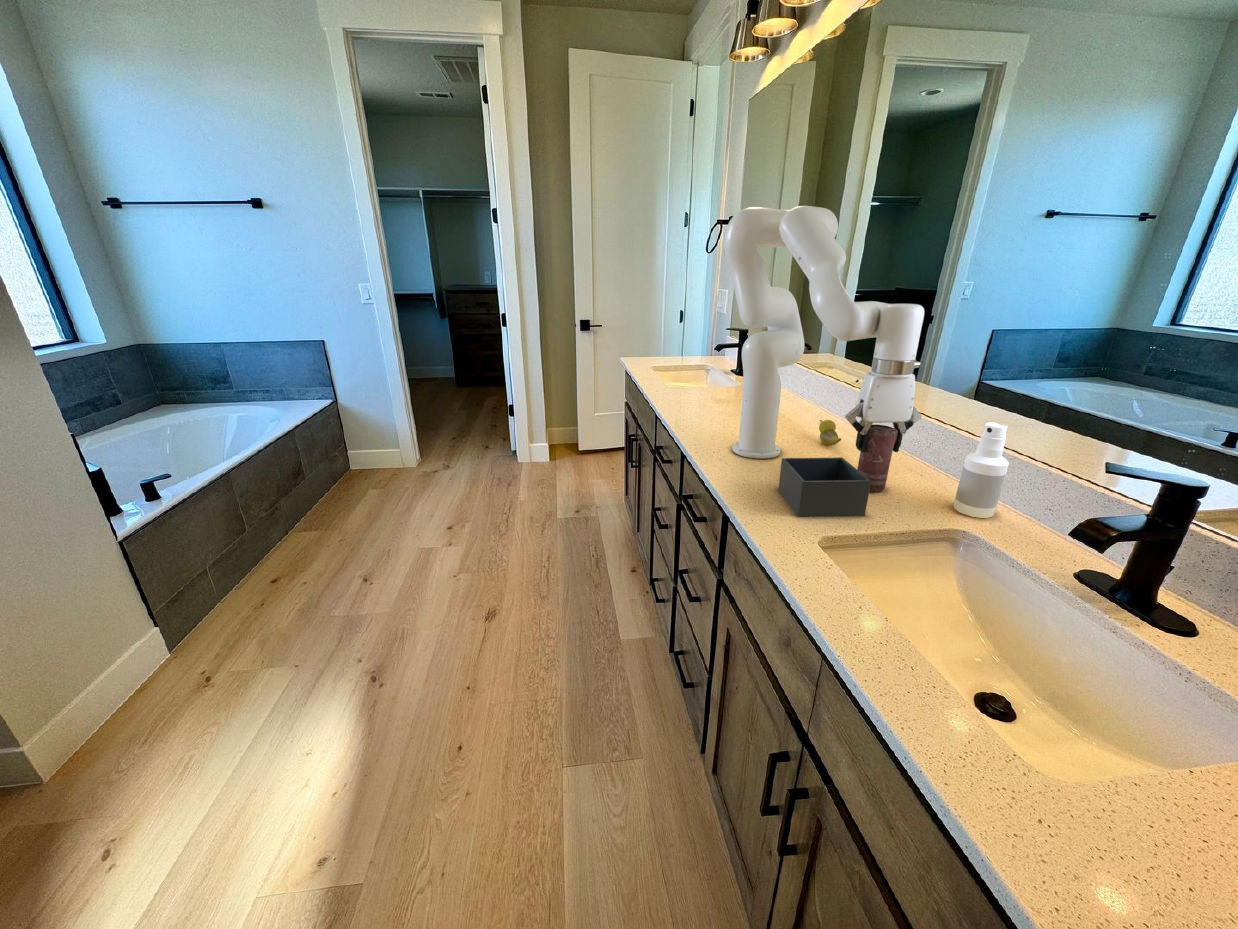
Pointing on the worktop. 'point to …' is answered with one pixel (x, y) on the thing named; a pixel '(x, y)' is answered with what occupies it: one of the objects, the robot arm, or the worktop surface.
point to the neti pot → (828, 432)
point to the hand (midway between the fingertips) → (877, 449)
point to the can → (877, 456)
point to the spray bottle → (983, 474)
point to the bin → (823, 487)
